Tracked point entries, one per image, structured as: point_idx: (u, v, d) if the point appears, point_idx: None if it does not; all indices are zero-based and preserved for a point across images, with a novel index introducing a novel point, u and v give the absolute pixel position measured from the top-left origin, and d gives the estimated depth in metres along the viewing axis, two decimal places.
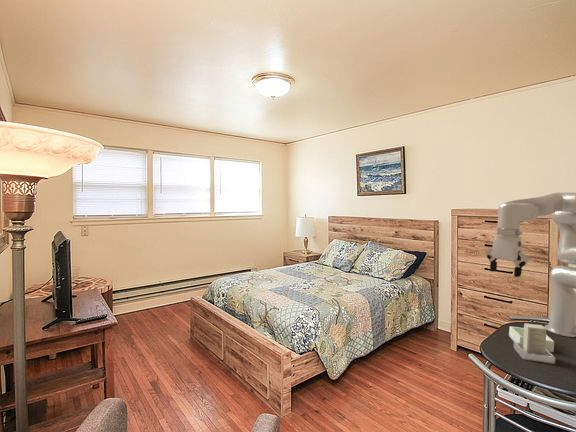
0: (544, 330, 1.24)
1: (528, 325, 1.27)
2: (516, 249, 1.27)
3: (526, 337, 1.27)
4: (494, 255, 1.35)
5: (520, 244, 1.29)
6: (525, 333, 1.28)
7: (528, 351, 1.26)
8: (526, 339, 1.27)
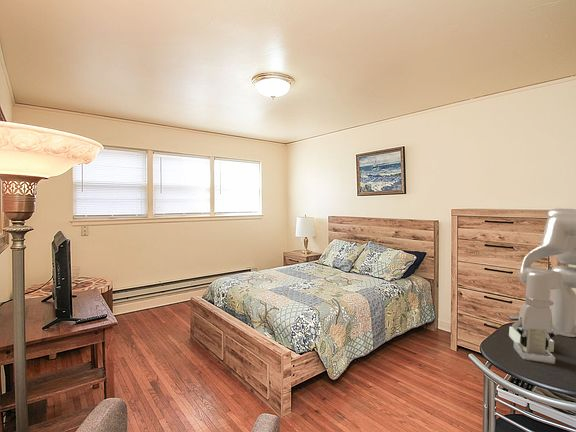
0: (544, 330, 1.24)
1: None
2: (552, 320, 1.24)
3: None
4: (527, 327, 1.26)
5: None
6: None
7: (528, 351, 1.26)
8: None
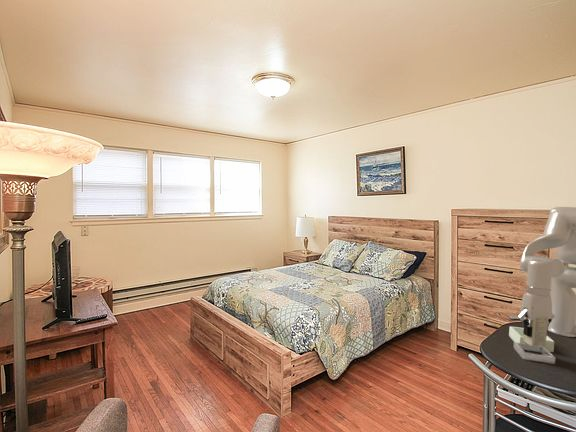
0: (546, 317, 1.25)
1: None
2: None
3: None
4: (533, 317, 1.24)
5: None
6: None
7: (533, 340, 1.25)
8: None
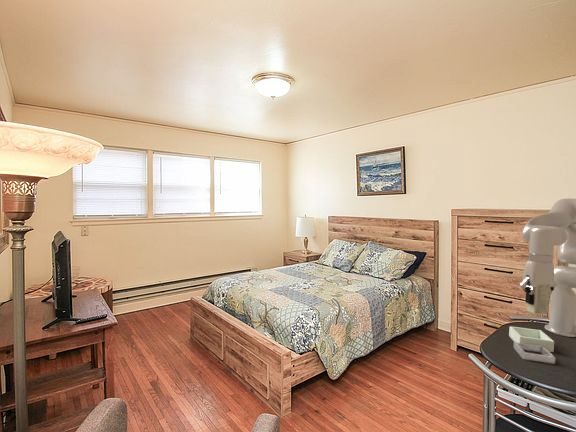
0: (548, 285, 1.24)
1: None
2: None
3: None
4: (535, 285, 1.23)
5: None
6: None
7: (536, 308, 1.24)
8: None
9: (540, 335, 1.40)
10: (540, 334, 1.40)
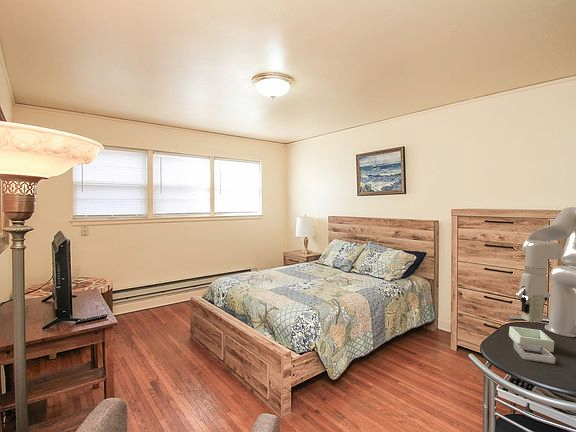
0: (542, 295, 1.35)
1: None
2: None
3: None
4: (530, 295, 1.35)
5: None
6: None
7: (530, 316, 1.35)
8: None
9: (540, 335, 1.40)
10: (540, 334, 1.40)
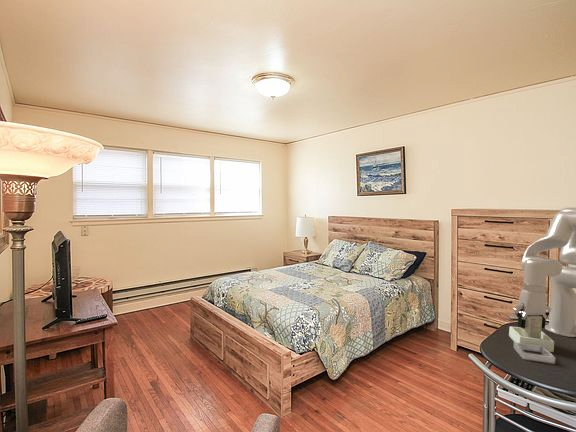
0: (540, 318, 1.36)
1: (527, 315, 1.37)
2: None
3: (526, 327, 1.37)
4: (529, 312, 1.35)
5: None
6: None
7: None
8: (526, 328, 1.36)
9: None
10: None
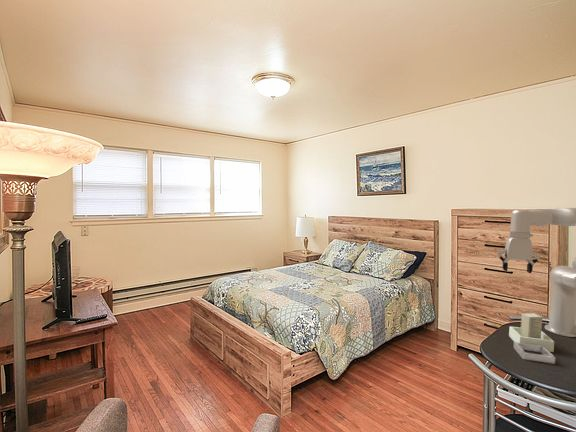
0: (541, 318, 1.36)
1: (527, 315, 1.37)
2: None
3: (526, 327, 1.37)
4: (511, 256, 1.50)
5: None
6: (524, 322, 1.38)
7: None
8: (526, 328, 1.36)
9: None
10: None
